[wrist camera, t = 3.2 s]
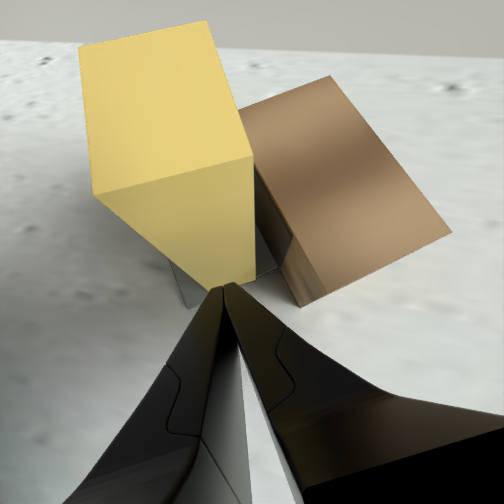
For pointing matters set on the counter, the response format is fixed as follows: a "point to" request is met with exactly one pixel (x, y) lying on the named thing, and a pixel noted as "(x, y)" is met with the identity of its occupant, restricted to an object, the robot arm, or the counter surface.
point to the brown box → (330, 191)
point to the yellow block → (172, 149)
